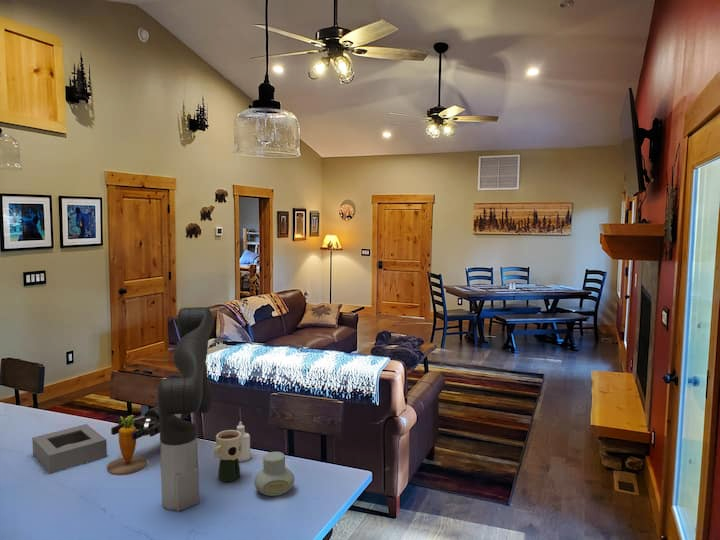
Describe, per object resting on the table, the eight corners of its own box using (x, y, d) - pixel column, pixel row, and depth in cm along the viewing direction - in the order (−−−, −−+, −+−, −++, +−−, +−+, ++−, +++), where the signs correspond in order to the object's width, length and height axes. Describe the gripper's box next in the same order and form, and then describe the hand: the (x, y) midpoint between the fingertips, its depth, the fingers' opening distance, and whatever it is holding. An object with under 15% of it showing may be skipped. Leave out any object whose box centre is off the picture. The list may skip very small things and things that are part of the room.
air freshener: (255, 500, 139) (255, 464, 138) (253, 485, 147) (253, 451, 146) (296, 495, 142) (296, 460, 141) (292, 481, 150) (292, 447, 149)
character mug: (225, 489, 145) (224, 444, 144) (206, 482, 148) (205, 438, 147) (251, 473, 154) (251, 430, 153) (233, 467, 158) (232, 425, 157)
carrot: (115, 464, 157) (114, 416, 156) (129, 458, 162) (129, 411, 161) (126, 468, 155) (125, 419, 154) (140, 462, 159) (140, 414, 158)
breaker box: (107, 456, 164) (106, 439, 164) (49, 473, 153) (49, 455, 153) (87, 440, 177) (86, 424, 177) (33, 454, 166) (32, 437, 165)
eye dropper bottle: (245, 463, 160) (244, 425, 159) (229, 461, 162) (228, 423, 161) (252, 457, 165) (252, 420, 164) (236, 455, 166) (236, 418, 165)
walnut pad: (153, 466, 158) (153, 463, 158) (115, 478, 150) (115, 476, 150) (138, 454, 166) (138, 452, 166) (101, 466, 158) (101, 463, 158)
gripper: (146, 401, 173) (104, 418, 159) (179, 408, 167) (139, 425, 153) (147, 423, 174) (105, 442, 159) (180, 430, 168) (140, 450, 153)
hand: (122, 434), depth 156 cm, fingers open, 8 cm apart
